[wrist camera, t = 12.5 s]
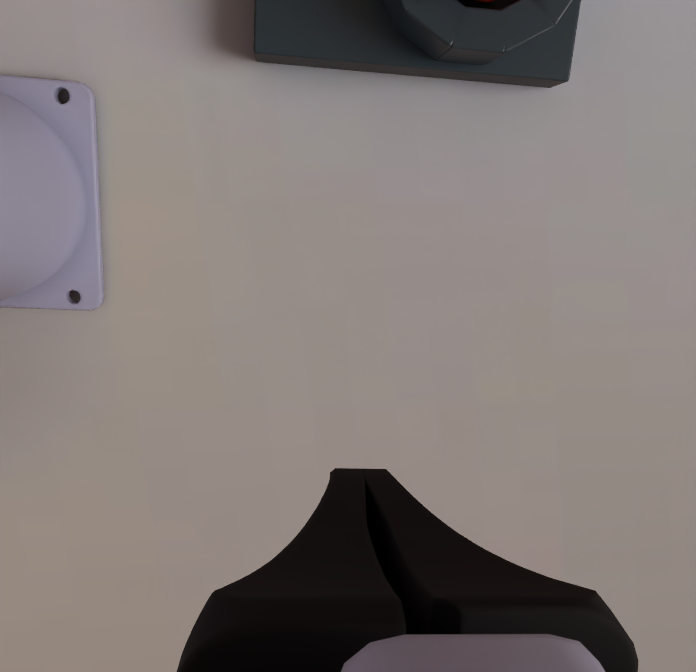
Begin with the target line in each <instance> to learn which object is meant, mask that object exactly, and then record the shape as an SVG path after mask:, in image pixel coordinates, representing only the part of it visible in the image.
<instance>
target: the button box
mask: <svg viewBox="0 0 696 672" xmlns="http://www.w3.org/2000/svg"><path fill="white" fill-rule="evenodd" d="M580 2H581V0H496V1H489V2H485V1H476V0H255V13H254V54H255V57H256V60H257V61H258V62H265V63H277V64H288V65H299V66H310V67H322V68H333V69H344V70H355V71H367V72H378V73H389V74H400V75H412V76H423V77H434V78H445V79H457V80H468V81H479V82H490V83H502V84H513V85H524V86H535V87H547V88H551V87H553V86H556V85H559V84H561V83H564V82H567V81H568V80H569V76H570V69H571V62H572V56H573V49H574V42H575V36H576V29H577V22H578V16H579V9H580Z"/></svg>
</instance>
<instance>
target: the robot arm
mask: <svg viewBox="0 0 696 672" xmlns="http://www.w3.org/2000/svg"><path fill="white" fill-rule="evenodd" d="M62 89H66V90H67V91H68V92H69V95H70V97H69V101H68V102H67V103H64V104H62V103H61V102H60V101H59V99H58V93H59V92H60V91H61V90H62ZM71 290H75V291H77V292H78V293H79V294H80V297H81V298H80V301H79V302H75V301H73V300H72V299H71V298H70V291H71ZM103 300H104V284H103V261H102V239H101V216H100V193H99V171H98V148H97V125H96V103H95V96H94V93H93V91H92V90H91V88H90V87H88V86H87V85H86V84H84V83H81V82H77V81H67V80H55V79H43V78H31V77H19V76H7V75H0V307H13V308H38V309H63V310H87V311H89V310H94V309H96V308H97V307H99V306H100V305H101V304H102V303H103ZM177 672H638V658H637V654H636V651H635V647H634V644H633V642H632V640H631V639H630V638H629V636H628V635H627V633H626V632H625V630H624V629H623V627H622V626H621V624H620V623H619V621H618V620H617V618H616V617H615V616H614V614H613V613H612V611H611V610H610V609H609V607H608V606H607V605H606V603H605V602H604V601H603V600H602V598H601V597H600V596H599V595H598V594H597V592H596V591H594V590H591V589H587V588H584V587H580V586H577V585H573V584H570V583H566V582H563V581H559V580H556V579H552V578H549V577H547V576H544V575H541V574H539V573H536V572H533V571H531V570H528V569H525V568H523V567H521V566H518V565H516V564H514V563H511V562H509V561H507V560H505V559H503V558H501V557H499V556H497V555H495V554H493V553H491V552H489V551H487V550H485V549H483V548H482V547H480V546H478V545H476V544H475V543H473V542H471V541H470V540H468V539H467V538H465V537H464V536H462V535H460V534H459V533H457V532H456V531H454V530H453V529H452V528H450V527H449V526H447V525H446V524H445V523H444V522H442V521H441V520H440V519H438V518H437V517H436V516H435V515H433V514H432V513H431V512H430V511H429V510H428V509H426V508H425V507H424V506H423V505H422V504H421V503H420V502H418V501H417V500H416V499H415V498H414V497H413V496H412V495H411V494H410V493H409V492H408V491H407V490H406V489H405V488H404V487H403V486H402V485H401V484H400V483H399V482H398V481H397V480H396V479H395V478H394V477H393V476H392V475H391V474H390V473H389V472H388V471H387V470H386V469H343V468H335V469H334V470H333V471H332V472H330V480H329V483H328V486H327V489H326V491H325V493H324V495H323V497H322V499H321V501H320V503H319V505H318V506H317V508H316V510H315V511H314V513H313V514H312V516H311V517H310V519H309V520H308V522H307V523H306V525H305V526H304V527H303V528H302V530H301V531H300V532H299V533H298V535H297V536H296V537H295V538H294V539H293V540H292V541H291V542H290V544H289V545H288V546H286V547H285V548H284V549H283V550H282V551H281V552H280V553H279V554H278V555H277V556H276V557H275V558H273V559H272V560H271V561H270V562H268V563H267V564H265V565H264V566H262V567H261V568H259V569H258V570H256V571H254V572H253V573H251V574H249V575H248V576H246V577H244V578H242V579H240V580H238V581H236V582H233V583H231V584H229V585H227V586H225V587H223V588H220V589H218V590H215V591H214V592H213V593H212V594H211V596H210V597H209V599H208V601H207V602H206V604H205V606H204V608H203V610H202V611H201V613H200V615H199V617H198V619H197V621H196V623H195V625H194V627H193V629H192V631H191V634H190V636H189V638H188V640H187V642H186V645H185V648H184V650H183V653H182V656H181V659H180V662H179V666H178V669H177Z"/></svg>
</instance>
